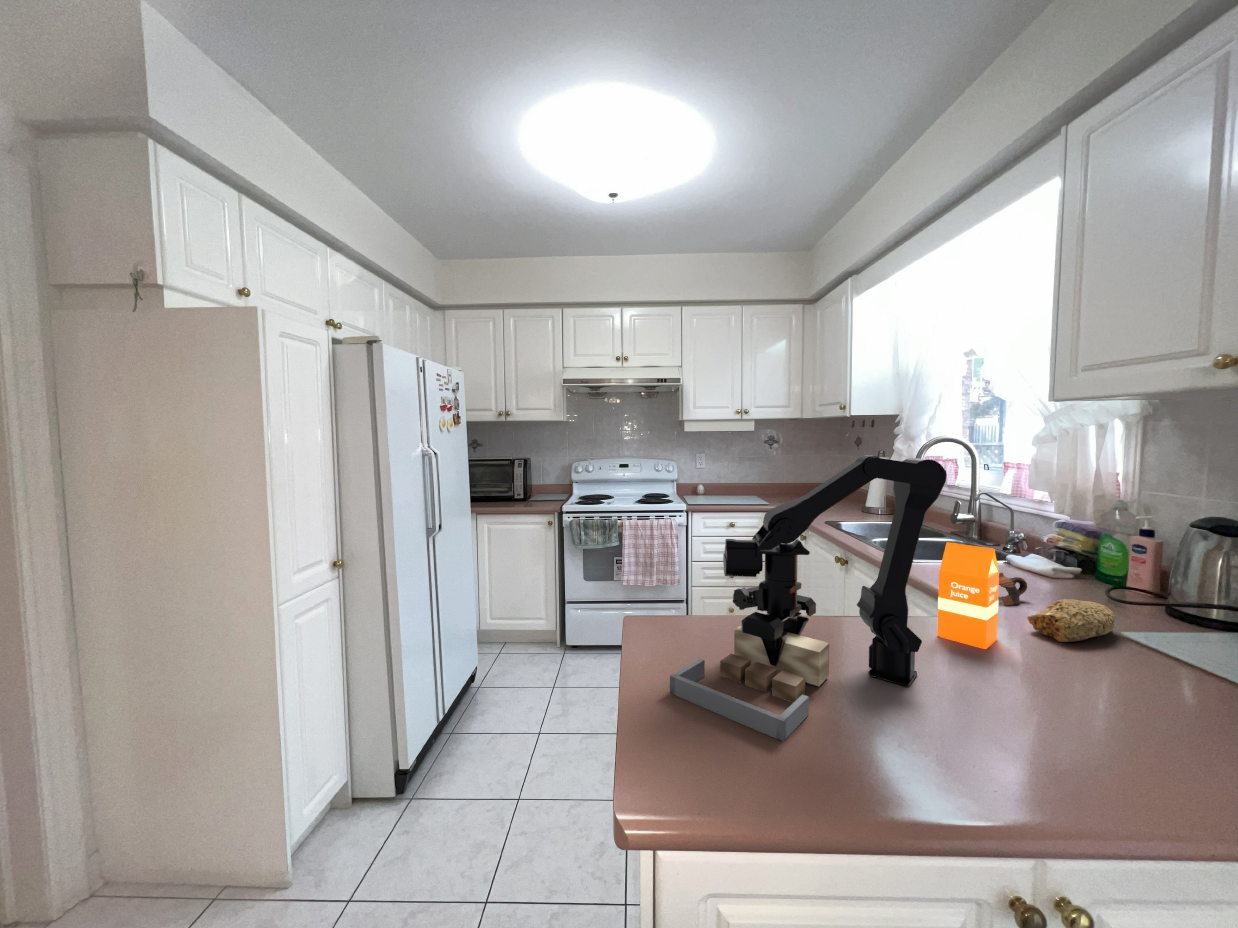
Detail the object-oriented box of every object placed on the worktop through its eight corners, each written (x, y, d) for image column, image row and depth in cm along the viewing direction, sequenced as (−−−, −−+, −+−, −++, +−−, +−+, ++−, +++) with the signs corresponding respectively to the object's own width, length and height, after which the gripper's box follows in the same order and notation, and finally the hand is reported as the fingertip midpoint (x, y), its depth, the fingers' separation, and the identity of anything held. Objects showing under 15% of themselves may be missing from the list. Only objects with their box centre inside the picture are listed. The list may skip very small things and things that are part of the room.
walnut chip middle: (777, 685, 87) (777, 668, 87) (766, 693, 84) (766, 676, 84) (756, 677, 90) (756, 661, 89) (744, 685, 87) (745, 668, 87)
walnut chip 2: (805, 694, 83) (805, 677, 83) (795, 704, 80) (795, 686, 80) (782, 687, 86) (782, 670, 86) (772, 696, 83) (772, 678, 83)
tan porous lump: (1079, 656, 100) (1148, 626, 104) (1066, 617, 101) (1136, 589, 105) (1015, 642, 113) (1079, 616, 117) (1004, 608, 113) (1069, 583, 118)
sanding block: (828, 675, 89) (829, 642, 88) (818, 686, 85) (819, 652, 85) (746, 651, 99) (746, 621, 99) (734, 659, 96) (734, 628, 95)
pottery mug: (996, 609, 125) (979, 577, 128) (977, 613, 134) (961, 583, 137) (1044, 596, 125) (1025, 565, 128) (1021, 602, 133) (1004, 572, 137)
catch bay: (808, 715, 77) (808, 696, 77) (783, 741, 70) (783, 720, 70) (699, 674, 91) (699, 658, 90) (670, 692, 84) (670, 675, 84)
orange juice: (985, 649, 100) (988, 551, 99) (936, 636, 107) (939, 544, 106) (997, 639, 105) (1000, 546, 104) (949, 627, 112) (952, 539, 111)
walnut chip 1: (750, 675, 90) (750, 659, 90) (740, 683, 87) (740, 667, 87) (731, 669, 93) (731, 653, 93) (720, 676, 90) (720, 660, 90)
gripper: (764, 560, 104) (763, 633, 104) (715, 579, 90) (715, 663, 91) (817, 569, 96) (816, 649, 97) (773, 592, 82) (772, 684, 83)
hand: (780, 660), depth 92 cm, fingers closed on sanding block, 5 cm apart
